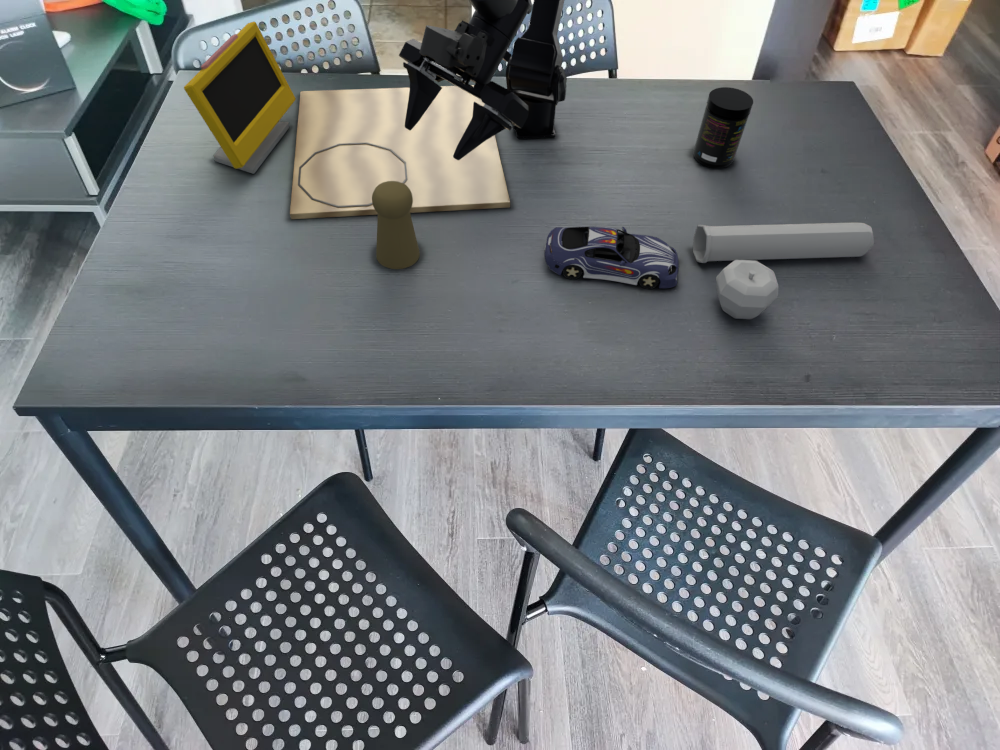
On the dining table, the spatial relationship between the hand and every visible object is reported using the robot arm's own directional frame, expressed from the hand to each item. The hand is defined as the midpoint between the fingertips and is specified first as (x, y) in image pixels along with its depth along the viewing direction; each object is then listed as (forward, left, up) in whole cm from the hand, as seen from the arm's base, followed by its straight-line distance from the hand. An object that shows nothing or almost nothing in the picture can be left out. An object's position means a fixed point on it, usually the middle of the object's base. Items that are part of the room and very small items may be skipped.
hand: (430, 143), depth 91 cm
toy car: (-23, +11, -14) cm, 29 cm away
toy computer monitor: (+28, -22, -14) cm, 38 cm away
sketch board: (+5, -20, -13) cm, 25 cm away
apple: (-38, +21, -14) cm, 46 cm away
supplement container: (-46, -13, -14) cm, 50 cm away
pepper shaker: (+6, +6, -14) cm, 16 cm away
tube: (-48, +11, -14) cm, 51 cm away
